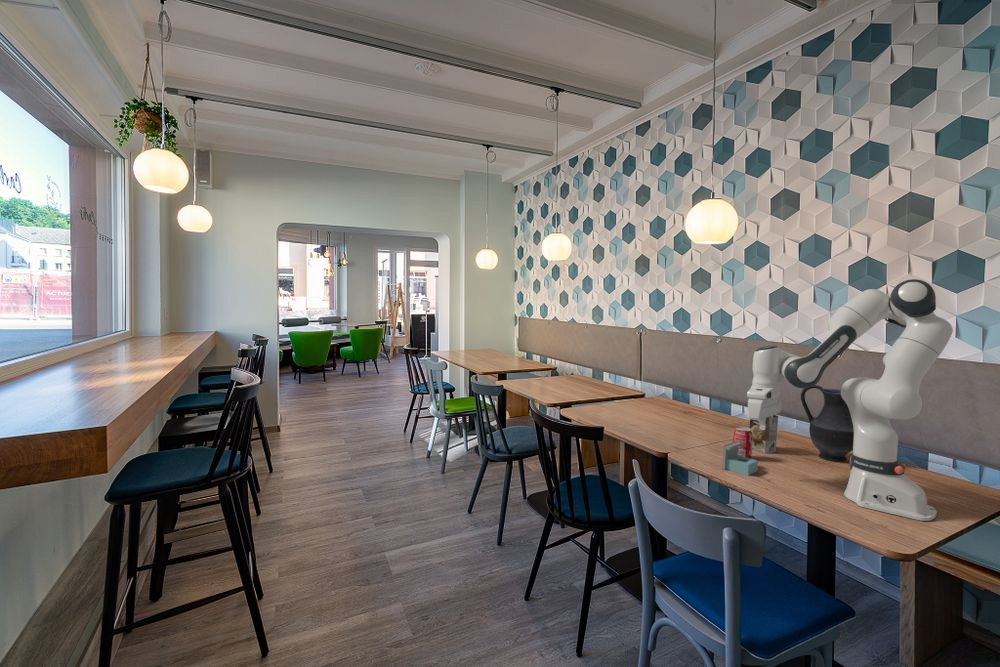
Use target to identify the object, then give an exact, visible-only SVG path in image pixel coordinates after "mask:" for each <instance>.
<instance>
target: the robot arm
mask: <svg viewBox="0 0 1000 667" xmlns="http://www.w3.org/2000/svg"><path fill="white" fill-rule="evenodd" d="M936 297H937V296H936V292H935V289H934V288H933V287H932V285H931V284H929V283H928V282H926V281H925V280H922V279H916V278H915V279H907V280H903V281H901V282H899V283H897V284H896V286H895V287H893V289H892V290H891V293H889V294H888V293H885V292H884V291H881V290H879V289H875V288H869V289H866V290H863V291H862V292H860V293H858V294H857V295H855V296H853V297H852V298H851V299H849V300H848V301H847V302H845V303H844V304H842V305H841V306H840V307H839V308H838V309H836V311H834V313H832V315H831V316H830V317H829V319H828V321H827V330H828V335H827V337H826V338H825V339H824V340H823V341H822V342H820V344H819V345H817V346H816V347H815V349H813V350H812V351H811V352H810V353H809V354H807V355H805V356H799V355H796V354H793V353H790V352H787V351H785V350H784V349H781V348H780V347H779V346H777V345H776V346H775V345H768V346H767V345H766V346H761V347H758V348H757V349H756V350H754V352H753V357H752V368H751V369H752V373H753V376H752V379H751V380H752V381H751V382H752V383H751V384H752V385H751V386H750V388H749V389H748V391H747V392H746V397H747V398H748V401H747V413H748V418H749V420H750V419H751V420H757V421H759V424H760V429H761V430H766V429H767V425H766V423H765V421H766V418H768V417H769V428H770V427H771V423H772V419H773V415H777V414H781V412H782V410H783V408H782V406H783V405H782V403H783V402H782V395H781V382H782V381H786V382H788V383H789V384H791V385H792V386H793V387H795V388H798V389H804V388H809V387H812V386H814V385H817V384H818V383H819V381H820V380H821V379H822V376H823V374H824V372H825V371H826V369H827V368H828V367H829V366H831V364H832V363H833V362H834V361H836V359H838V357H840V355H841V354H843V353H844V352H845V351H846V350H847V349H848V348H849V347H850V346H851V345H852V344H853V343H854V342H856V340H859V338H860V337H861V336H863V335H864V334H865V333H867V332H868V331H869V330H871V328H873V327H874V326H875V325H876V324H878V323H879V322H880V321H883V320H885V322H887V323H889V324H894V325H896V326H898V327H900V328H904V330H903V332H902V333H901V334H900V336H898V338H897V339H896V341H895V342H894V343H893V344H892V346H890V348H889V349H888V350H887V352H886V353H885V354H884V356H883V358H882V364H883V365H884V371H883V373H882V374H881V377H880V378H879V379H877V378H876V379H875V378H871V377H867V376H866V377H865V376H864V377H861V376H860V377H851V378H849V379H847V380H846V381H844V382H843V384H842V385H841V387H840V390H841V396H842V398H843V400H844V401H845V402H846V404H847V406H848V408H849V411H850V415H851V418H852V423H853V429H854V440H853V450H852V452H850V453H851V454H850V457H849V470H850V473H849V478H848V482H847V485H846V487H845V490H844V492H843V495H844V497H845V498H847V499H848V500H850V501H852V502H854V503H855V504H856V505H858V506H859V507H861V508H866V509H870V510H874V511H878V512H883V513H885V514H886V513H887V514H892V515H895V516H900V517H903V518H908V519H912V520H916V521H921V522H928V521H932V520H934V519H936V517H937V515H938V514H937V510H936V509H935V507H933V506H932V505H928V499H927V495H926V492H925V491H924V489H923V488H922V487H921V486H919V485H918V484H916V483H915V482H914V481H912V479H910V478H909V477H908V476H906V475H905V471H906V468H905V467H906V464H905V463H903V464H902V462H900V461H898V446H899V445H898V444H899V436H898V433H897V432H896V430H894V428H893V427H892V424H891V421H890V420H911V419H913V418H915V417H917V416H918V415H919V414H920V413H921V410H922V406H923V400H922V396H921V395H920V388H921V387H920V386H921V383H922V381H923V379H924V377H925V375H926V373H928V371H929V369H930V368H931V367H932V366H933V365H934V363H935V362H936V361H937V359H938V358H939V356H940V355H941V354H942V353H943V351H944V349H945V348H946V346H947V345H948V343H949V341H950V339H951V337H952V334H953V332H954V329H953V326H952V324H951V323H950V322H949V321H947V320H946V319H944V318H942V317H940V316H938V315H936V314H935V312H936V309H937V302H936V301H937V300H936Z"/></svg>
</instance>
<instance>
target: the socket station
mask: <svg viewBox="0 0 1000 667" xmlns="http://www.w3.org/2000/svg"><path fill="white" fill-rule="evenodd" d="M740 446H742V443H740V442H733V441H732V442H731V443H728V444H724V445H723V446H722V463H721V464H722V465H721V467H722V468H721V469H722V470H723V471H725V470H727V471H731V472H734V473H738V474H740V475H741V474H742V475H745V476H751V475H752V474H755V473H757V472H758V466H759V460H756V459H753V458H745V457H741V456H738V447H740Z"/></svg>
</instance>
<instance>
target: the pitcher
mask: <svg viewBox="0 0 1000 667" xmlns="http://www.w3.org/2000/svg"><path fill="white" fill-rule="evenodd" d="M811 389H817V390H819V391H821V393H822V395H823V401H824V402H823V406H822V408H821V410H820V412H819V413H818V414H817V416H815V417H814V416H813V415H812V412H811V411H810V409H809V407H808V404H807V402H806V399H805V397H806V392H807V391H809V390H811ZM800 401H801V404H802V407H803V409H804V411H805V413H806V416H807V418H808V421H809V438H810V440H811V442H812V444H813V445H814V446H815V448H816V449H817V450H818V451H819V453H818V457H819V459H822V460H823V461H828V462H833V463H845V462H848V459H847V457H846V456H847V455H848V454H850V453H852V452H853V440H854V429H853V423H852V418H851V415H850V411H849V408H848V406H847V404H846V402H845V401H844V400H843V398H842V396H841V389H839V388H838V389H835V388H823V386H820V385H817V384H815V385H814V386H812V387H809V388H802V391H801V392H800Z"/></svg>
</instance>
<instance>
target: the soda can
mask: <svg viewBox="0 0 1000 667" xmlns="http://www.w3.org/2000/svg"><path fill="white" fill-rule="evenodd" d="M732 440H733V441H732V443H733V442H740V443H742V446H740V447H738V456H741V457H745V458H749V459H752V455H753V448H752V445H753V434H752V432H751V429H750V427H743V426H738V427H735V430H734V431H733V439H732Z"/></svg>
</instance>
